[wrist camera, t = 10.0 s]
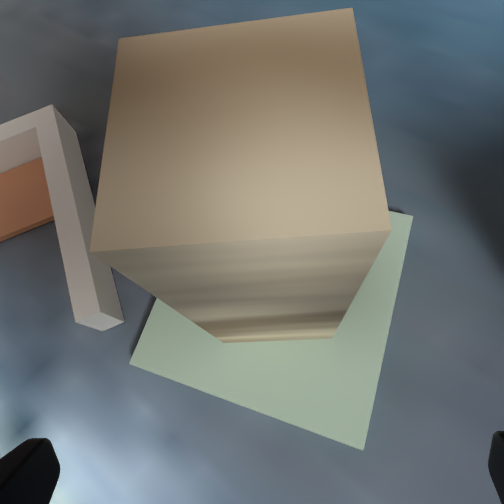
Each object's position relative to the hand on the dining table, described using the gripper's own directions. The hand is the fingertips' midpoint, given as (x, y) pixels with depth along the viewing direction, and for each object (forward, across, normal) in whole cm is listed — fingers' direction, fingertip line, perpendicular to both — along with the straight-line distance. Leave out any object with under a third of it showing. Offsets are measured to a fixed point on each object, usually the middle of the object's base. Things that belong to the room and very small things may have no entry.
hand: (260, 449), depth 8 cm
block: (+11, 0, +2) cm, 11 cm away
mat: (+11, 0, +2) cm, 11 cm away
